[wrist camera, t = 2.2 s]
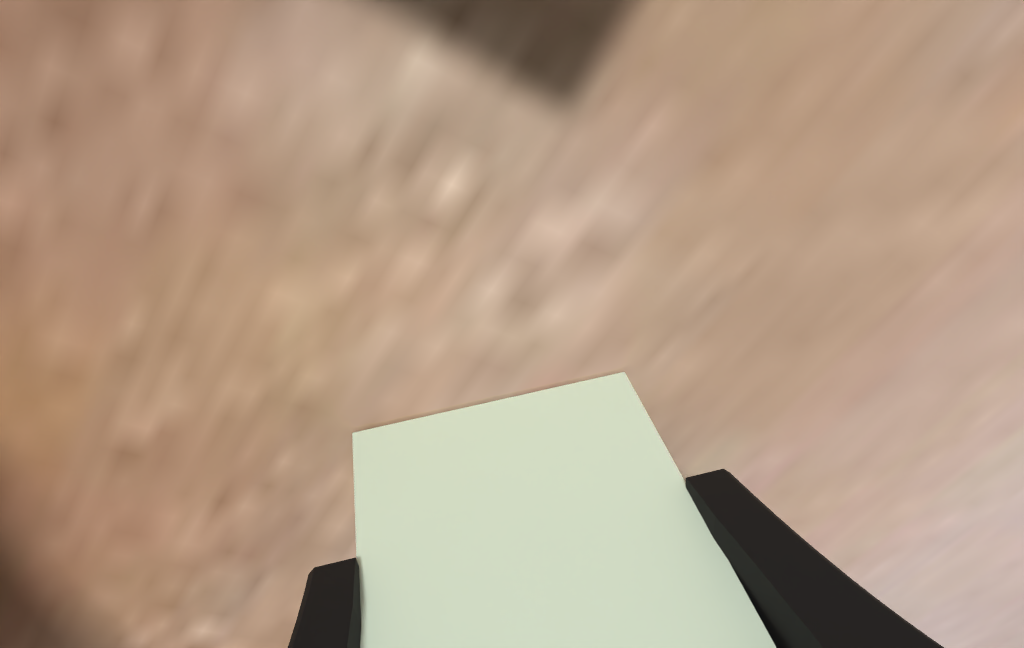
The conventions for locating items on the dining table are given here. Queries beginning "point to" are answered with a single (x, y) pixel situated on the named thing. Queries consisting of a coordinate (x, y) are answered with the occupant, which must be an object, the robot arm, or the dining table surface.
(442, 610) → the sage domino
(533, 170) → the dining table surface
